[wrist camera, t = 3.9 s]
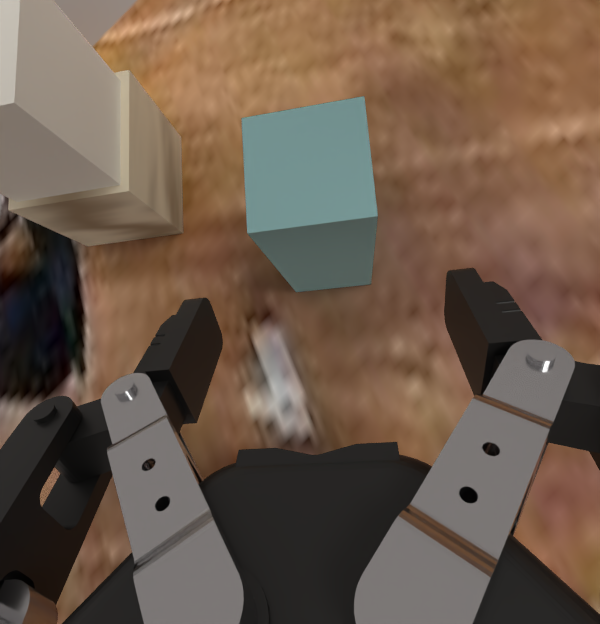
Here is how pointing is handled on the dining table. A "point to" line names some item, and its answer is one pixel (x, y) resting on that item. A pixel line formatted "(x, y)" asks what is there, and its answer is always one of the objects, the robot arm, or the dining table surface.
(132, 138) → the beech block
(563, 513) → the dining table surface
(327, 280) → the teal block
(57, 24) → the cream block
